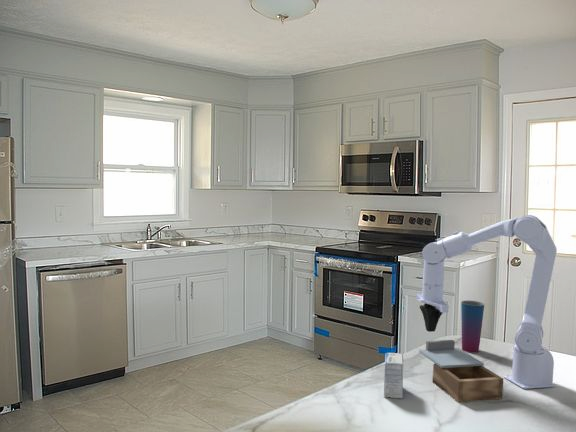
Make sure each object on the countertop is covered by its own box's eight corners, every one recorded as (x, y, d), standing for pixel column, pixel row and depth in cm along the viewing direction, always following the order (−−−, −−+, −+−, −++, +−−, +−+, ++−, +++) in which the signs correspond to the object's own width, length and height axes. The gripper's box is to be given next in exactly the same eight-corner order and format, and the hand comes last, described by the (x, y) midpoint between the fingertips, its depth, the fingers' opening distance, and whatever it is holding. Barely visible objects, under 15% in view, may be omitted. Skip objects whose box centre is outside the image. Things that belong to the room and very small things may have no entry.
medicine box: (402, 399, 120) (403, 364, 119) (383, 397, 121) (384, 362, 120) (401, 386, 127) (403, 353, 127) (383, 384, 128) (385, 351, 128)
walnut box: (473, 379, 133) (474, 361, 133) (502, 398, 122) (503, 378, 121) (432, 382, 131) (433, 363, 130) (457, 402, 119) (458, 381, 119)
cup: (460, 352, 155) (463, 304, 154) (457, 345, 162) (459, 299, 161) (483, 354, 154) (486, 306, 153) (479, 347, 160) (481, 301, 159)
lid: (458, 350, 141) (458, 339, 141) (483, 365, 129) (484, 354, 129) (419, 352, 138) (419, 341, 138) (441, 368, 127) (442, 356, 126)
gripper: (408, 279, 149) (406, 324, 150) (432, 289, 135) (430, 339, 136) (430, 279, 151) (427, 323, 152) (456, 289, 137) (453, 338, 138)
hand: (430, 330), depth 144 cm, fingers closed
